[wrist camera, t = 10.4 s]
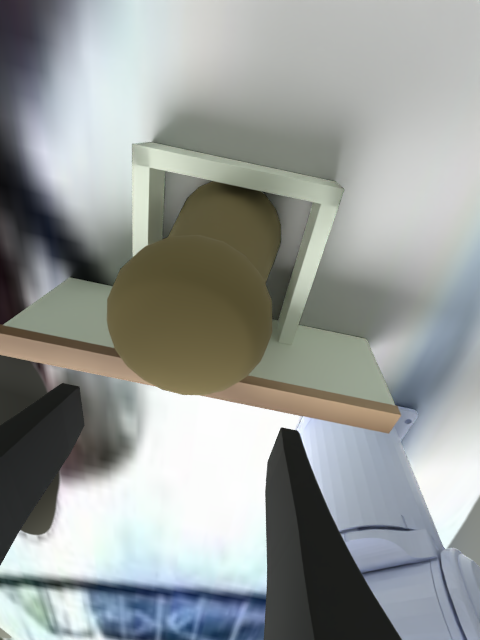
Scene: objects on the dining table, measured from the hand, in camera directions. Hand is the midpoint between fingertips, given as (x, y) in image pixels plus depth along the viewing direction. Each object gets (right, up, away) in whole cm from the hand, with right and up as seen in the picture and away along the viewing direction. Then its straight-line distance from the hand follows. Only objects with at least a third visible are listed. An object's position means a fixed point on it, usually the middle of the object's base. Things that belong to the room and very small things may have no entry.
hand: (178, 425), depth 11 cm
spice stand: (+2, +8, +7) cm, 11 cm away
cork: (+2, +9, +7) cm, 11 cm away
